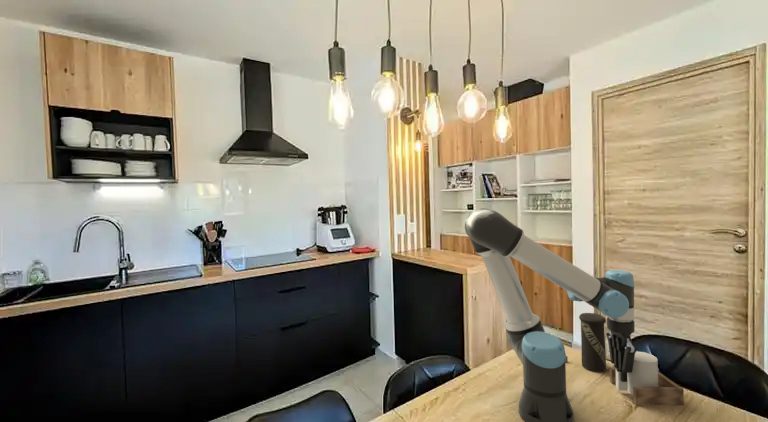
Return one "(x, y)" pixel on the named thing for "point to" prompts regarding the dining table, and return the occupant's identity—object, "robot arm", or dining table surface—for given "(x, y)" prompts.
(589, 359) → the container
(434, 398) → the dining table surface
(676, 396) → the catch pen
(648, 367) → the white cylinder
